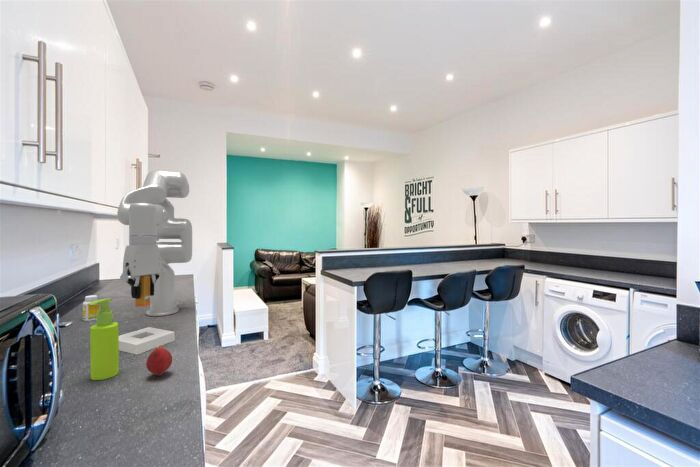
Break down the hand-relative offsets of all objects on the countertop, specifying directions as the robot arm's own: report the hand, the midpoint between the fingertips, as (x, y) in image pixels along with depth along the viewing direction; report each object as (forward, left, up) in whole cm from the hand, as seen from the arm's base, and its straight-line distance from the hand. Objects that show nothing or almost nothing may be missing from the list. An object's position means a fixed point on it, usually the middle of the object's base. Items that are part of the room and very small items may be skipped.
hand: (143, 296), depth 105 cm
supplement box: (0, 0, -3) cm, 3 cm away
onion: (+13, +25, -16) cm, 32 cm away
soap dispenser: (+19, +12, -16) cm, 28 cm away
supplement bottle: (-10, -46, -16) cm, 50 cm away
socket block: (0, 0, -16) cm, 16 cm away
